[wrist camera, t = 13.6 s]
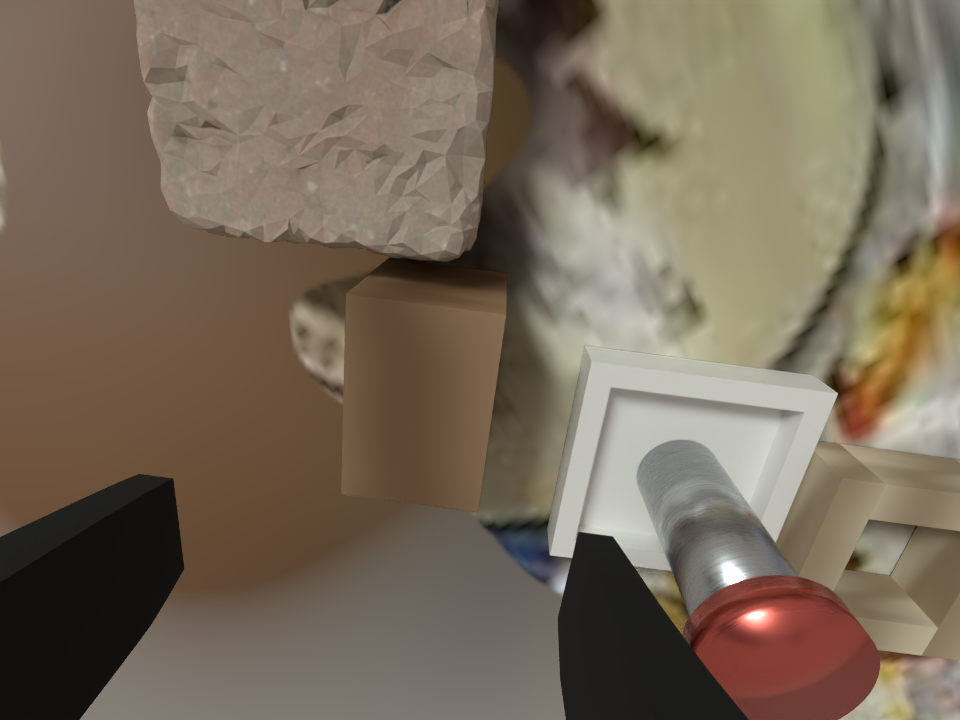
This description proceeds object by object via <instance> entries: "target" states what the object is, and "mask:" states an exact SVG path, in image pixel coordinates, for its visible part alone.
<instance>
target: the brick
mask: <svg viewBox="0 0 960 720" xmlns="http://www.w3.org/2000/svg"><path fill="white" fill-rule="evenodd" d="M134 6H135V12H136V18H137V43H138V50H139V58H140V66H141V72H142V76H143V80H144V83H145V85H146V87H147V88H148V90H149V92H150V93H151V95H152V99H151V103H150V106H149V109H148V112H147V115H148V120H149V125H150V131H151V136H152V140H153V143H154V145H155V148H156V151H157V153H158V156H159V159H160V161H161V190H162V193H163V195H164V197H165V199H166V201H167V204H168V206H169V208H170V210H171V212H172V213H173V214H174V215H175V216H176V217H177V218H178V219H179V220H180V221H181V222H183V223H184V224H185V225H187V226H188V227H191V228H195V229H200V230H205V231H207V232H208V233H212V234H216V235H220V236H226V237H234V238H252V239H256V240H259V241H263V242H277V241H288V242H292V243H302V242H304V243H316V244H322V245H324V246H327V247H329V248H345V247H355V248H361V249H366V250H368V251H370V252H373V253H376V254H381V255H385V256H389V257H405V258H409V259H416V260H430V261H443V262H447V261H450V260H453V259H456V258H459V257H460V256H461V254H462V253H463V252H466V251H470V249H471V248H472V246H473V244H474V242H475V240H476V239H477V230H478V226H479V222H480V216H481V207H482V202H483V189H484V173H485V167H486V165H485V164H486V163H485V162H486V144H487V135H488V125H489V120H490V115H491V110H492V98H493V85H494V70H495V50H496V18H497V12H498V6H499V0H134Z"/></svg>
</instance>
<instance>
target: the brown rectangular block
mask: <svg viewBox="0 0 960 720" xmlns="http://www.w3.org/2000/svg"><path fill="white" fill-rule="evenodd" d="M506 306H507V273H503V272H495V271H488V270H480V269H472V268H464V267H457V266H449V265H441V264H433V263H426V262H418V261H410V260H402V259H396V258H391V257H390V258H388V259H387V260H386V261H385V262H383V263H382V264H381V265H380V266H379V267H377V268H376V269H375V270H374V271H373V272H371V273H370V274H369V275H368V276H367V277H365V278H364V279H363V280H362V281H361V282H360V283H358V284H357V285H356V286H355V287H354V288H352V289H351V290H350V291H349V292H348V293H346V305H345V351H344V398H343V446H342V491H341V494H344V495H351V496H359V497H367V498H374V499H381V500H389V501H397V502H404V503H412V504H419V505H427V506H435V507H443V508H450V509H458V510H465V511H472V512H478V509H479V502H480V495H481V488H482V481H483V474H484V467H485V460H486V453H487V446H488V439H489V432H490V425H491V418H492V411H493V404H494V397H495V390H496V383H497V376H498V369H499V362H500V356H501V349H502V342H503V335H504V328H505V321H506Z"/></svg>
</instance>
